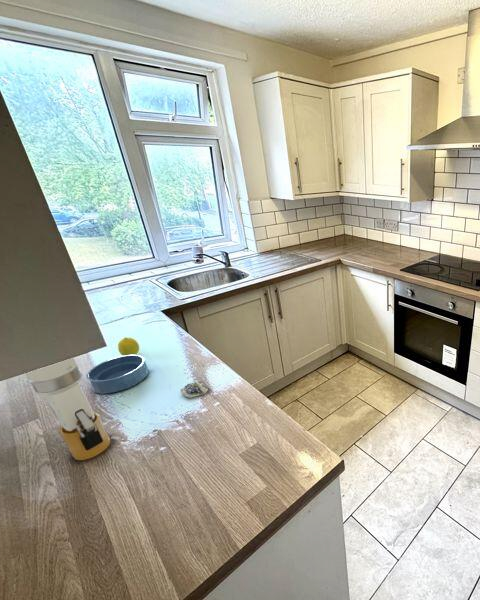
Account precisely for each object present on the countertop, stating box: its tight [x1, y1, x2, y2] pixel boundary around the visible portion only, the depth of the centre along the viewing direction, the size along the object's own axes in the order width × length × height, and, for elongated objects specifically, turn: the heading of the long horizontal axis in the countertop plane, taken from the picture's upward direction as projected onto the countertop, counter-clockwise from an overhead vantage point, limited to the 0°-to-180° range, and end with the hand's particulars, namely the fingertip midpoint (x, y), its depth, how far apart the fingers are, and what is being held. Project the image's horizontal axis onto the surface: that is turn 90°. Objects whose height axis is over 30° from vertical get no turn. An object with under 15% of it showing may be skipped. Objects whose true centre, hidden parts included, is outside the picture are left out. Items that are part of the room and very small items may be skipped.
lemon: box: [117, 336, 140, 356], centre depth 114 cm, size 6×6×8 cm
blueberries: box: [179, 381, 209, 399], centre depth 99 cm, size 7×8×2 cm
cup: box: [59, 412, 111, 461], centre depth 78 cm, size 7×7×8 cm
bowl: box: [86, 354, 150, 395], centre depth 103 cm, size 14×14×5 cm
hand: (87, 438), depth 78 cm, fingers closed on cup, 6 cm apart
